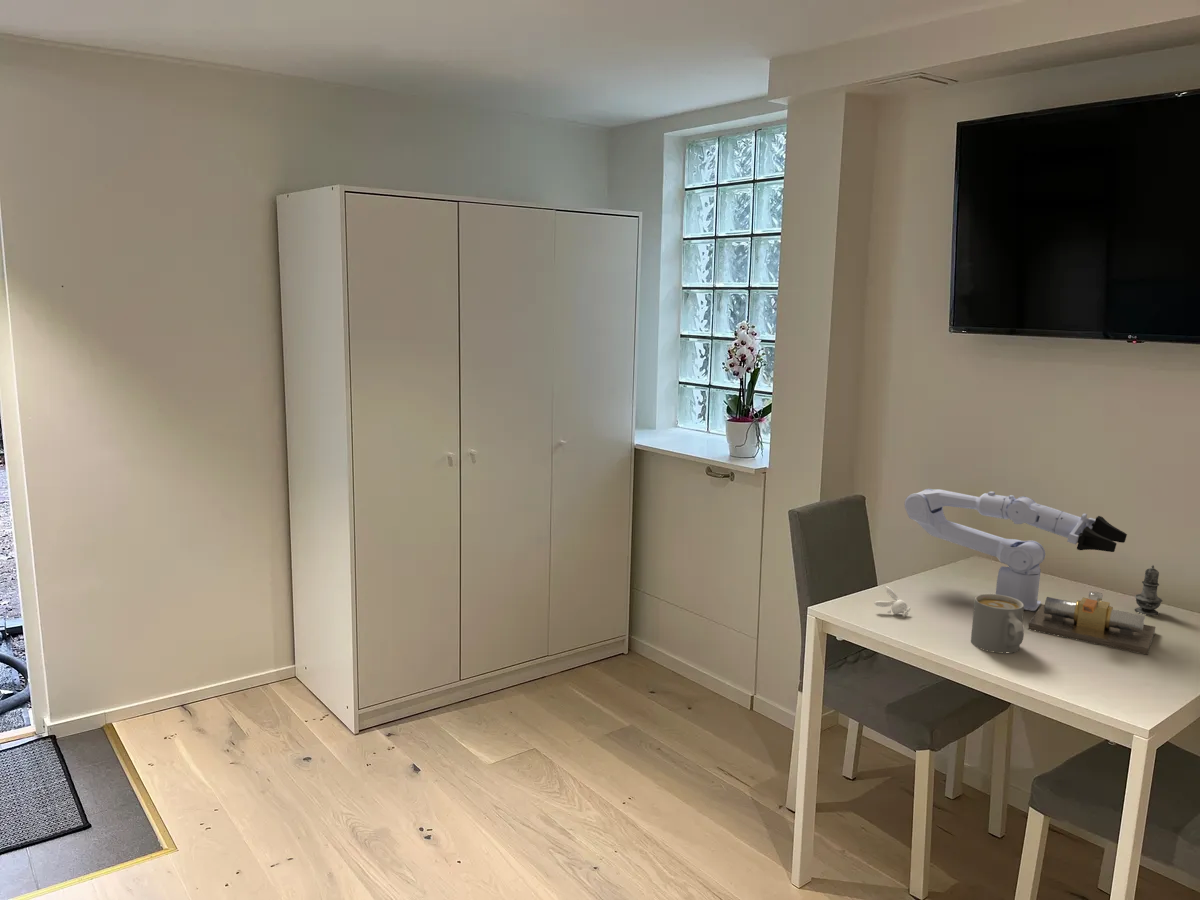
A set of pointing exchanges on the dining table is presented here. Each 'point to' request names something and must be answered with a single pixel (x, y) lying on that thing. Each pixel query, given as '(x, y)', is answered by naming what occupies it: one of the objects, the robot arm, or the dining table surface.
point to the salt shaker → (1149, 593)
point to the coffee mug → (997, 623)
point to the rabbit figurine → (894, 603)
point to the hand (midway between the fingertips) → (1120, 543)
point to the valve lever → (1092, 602)
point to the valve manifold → (1094, 625)
